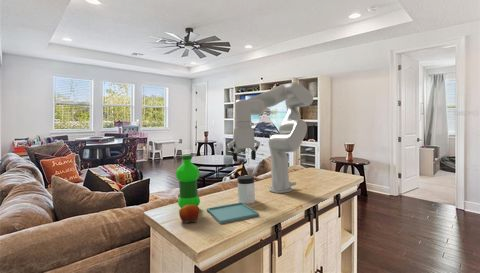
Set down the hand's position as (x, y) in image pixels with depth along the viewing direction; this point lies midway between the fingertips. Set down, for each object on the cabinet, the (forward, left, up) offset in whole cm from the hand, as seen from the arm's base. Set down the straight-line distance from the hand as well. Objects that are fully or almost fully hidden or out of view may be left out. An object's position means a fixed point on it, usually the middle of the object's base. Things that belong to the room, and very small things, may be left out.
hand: (244, 160), depth 126 cm
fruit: (+31, +12, -21) cm, 39 cm away
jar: (0, 0, -21) cm, 21 cm away
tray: (+13, +12, -20) cm, 27 cm away
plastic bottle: (+28, -2, -21) cm, 34 cm away
